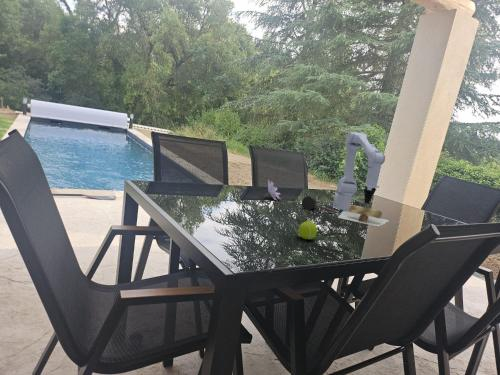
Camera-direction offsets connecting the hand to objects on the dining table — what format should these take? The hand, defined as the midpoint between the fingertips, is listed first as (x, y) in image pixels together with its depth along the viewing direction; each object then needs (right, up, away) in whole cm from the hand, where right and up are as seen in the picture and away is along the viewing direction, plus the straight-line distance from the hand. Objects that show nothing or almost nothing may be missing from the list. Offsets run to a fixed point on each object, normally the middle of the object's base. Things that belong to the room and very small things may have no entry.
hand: (367, 202), depth 194 cm
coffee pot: (-23, -5, +11) cm, 26 cm away
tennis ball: (-38, -13, -46) cm, 61 cm away
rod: (-1, -6, 0) cm, 6 cm away
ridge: (-2, -9, 0) cm, 9 cm away
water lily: (-47, +1, +23) cm, 52 cm away
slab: (-1, -9, +4) cm, 10 cm away
